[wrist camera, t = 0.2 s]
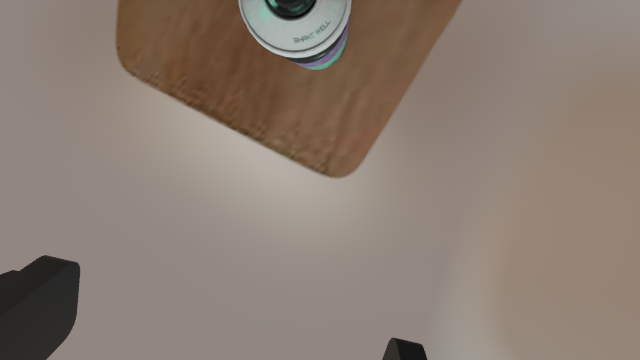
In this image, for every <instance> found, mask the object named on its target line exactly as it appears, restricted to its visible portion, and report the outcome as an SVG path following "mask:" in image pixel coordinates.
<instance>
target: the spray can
mask: <svg viewBox="0 0 640 360" xmlns="http://www.w3.org/2000/svg"><path fill="white" fill-rule="evenodd" d="M238 1H239V8H240V11H241V14H242V18H243V20H244V21H245V23H246V25H247V27H248V29H249V31H250V32H251V34H252V35H253V36H254V37H255V39H256V40H257V41H258V42H259V43H260V44H262V45H263V46H264V47H265V48H267V49H268V50H270V51H272V52H274V53H275V54H278V55H280V56H282V57H284V58H286V59H288V60H290V61H292V62H294V63H296V64H298V65H301V66H303V67H305V68H308V69H314V70H318V69H324V68H327V67H329V66H331V65H333V64H334V63H335V62H336V61H338V59H339V58H340V57H341V55H342V54H343V52H344V50H345V47H346V42H347V34H348V26H349V18H350V10H351V1H352V0H238Z"/></svg>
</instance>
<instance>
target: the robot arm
mask: <svg viewBox="0 0 640 360" xmlns="http://www.w3.org/2000/svg"><path fill="white" fill-rule="evenodd" d="M79 279H80V266H79V264H78V263H77V262H73V261H68V260H64V259H60V258H56V257H51V256H47V255H44V256H41V257H39V258H38V259H36V260H35V261H33V262H32V263H30V264H29V265H27V266H26V267H24V268H23V269H21V270H20V271H15V270H12V271H9V272H6V273H3V274H1V275H0V360H46V359H47V358H48V357H49V356H50V355H51V354H52V353H53V352H54V351H55V350H56V349H57V348H58V347H59V346H60V345H61V343H62V342H63V341H64V340H65V339H66V338H67V336H68V335H69V333H70V331H71V330H72V327H73V325H74V323H75V319H76V315H77V303H78V292H79ZM382 360H427V357H426V354H425V351H424V348H423V346H422V345H421V344H419V343H414V342H410V341H406V340H402V339H397V338H391V340H390V341H389V343H388V345H387V348H386V351H385V354H384V356H383V359H382Z"/></svg>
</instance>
